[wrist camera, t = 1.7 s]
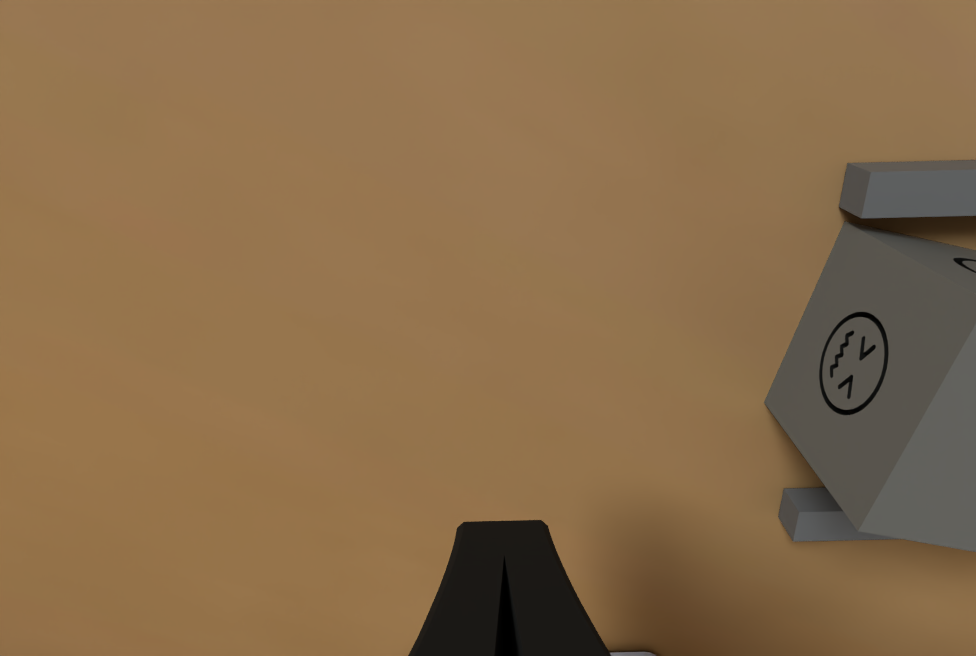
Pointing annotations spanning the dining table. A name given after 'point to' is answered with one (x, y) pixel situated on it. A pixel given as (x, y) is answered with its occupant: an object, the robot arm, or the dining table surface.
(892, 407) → the dice cube
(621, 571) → the dining table surface
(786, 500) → the guide lane
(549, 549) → the robot arm
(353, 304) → the dining table surface
